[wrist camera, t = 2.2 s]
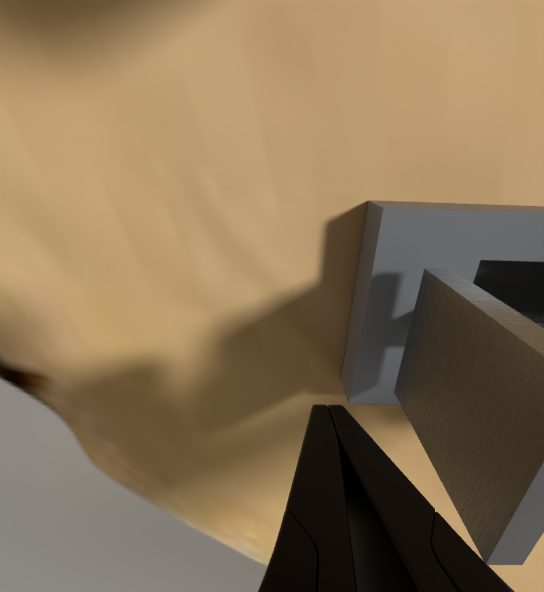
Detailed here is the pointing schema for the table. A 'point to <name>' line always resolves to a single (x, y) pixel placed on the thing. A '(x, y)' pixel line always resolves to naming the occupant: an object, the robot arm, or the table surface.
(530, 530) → the sled
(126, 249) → the table surface
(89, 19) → the table surface
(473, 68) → the table surface
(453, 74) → the table surface
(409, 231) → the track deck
